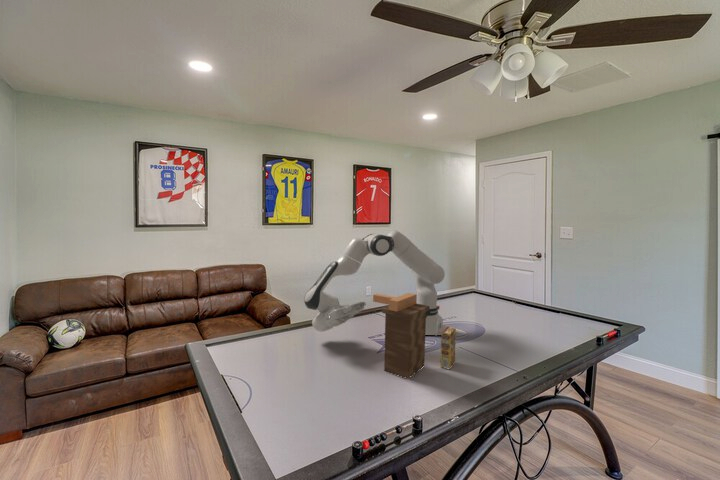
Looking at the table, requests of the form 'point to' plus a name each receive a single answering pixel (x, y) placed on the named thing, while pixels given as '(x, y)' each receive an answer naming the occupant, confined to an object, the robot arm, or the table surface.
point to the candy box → (448, 347)
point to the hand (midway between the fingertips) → (358, 305)
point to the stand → (405, 339)
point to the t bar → (396, 301)
